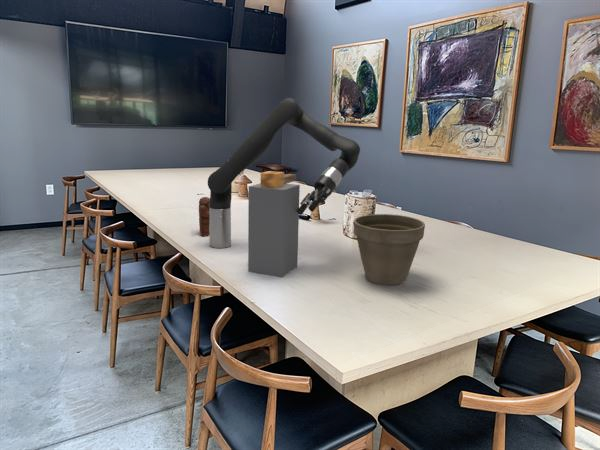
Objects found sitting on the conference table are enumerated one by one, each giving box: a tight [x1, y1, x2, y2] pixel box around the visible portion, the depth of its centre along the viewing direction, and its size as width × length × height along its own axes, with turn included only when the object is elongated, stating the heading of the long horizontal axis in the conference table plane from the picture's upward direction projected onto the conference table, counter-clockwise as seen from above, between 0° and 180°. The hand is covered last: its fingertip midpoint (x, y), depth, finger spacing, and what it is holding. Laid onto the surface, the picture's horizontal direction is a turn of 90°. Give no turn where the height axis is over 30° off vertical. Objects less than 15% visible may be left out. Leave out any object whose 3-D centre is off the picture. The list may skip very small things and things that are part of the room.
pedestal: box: [247, 182, 301, 278], centre depth 174 cm, size 14×14×32 cm
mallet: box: [260, 170, 297, 188], centre depth 174 cm, size 6×22×5 cm, turn 158°
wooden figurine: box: [198, 196, 210, 237], centre depth 223 cm, size 12×6×18 cm, turn 16°
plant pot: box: [353, 213, 426, 286], centre depth 168 cm, size 25×25×22 cm
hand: (304, 211), depth 170 cm, fingers open, 7 cm apart
